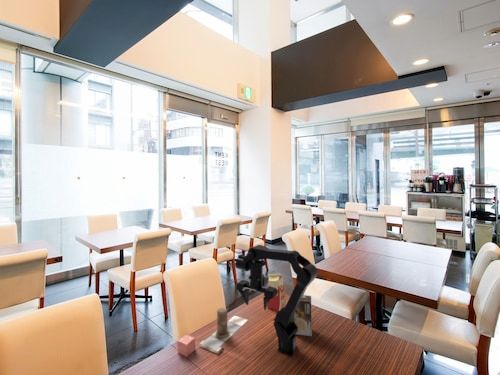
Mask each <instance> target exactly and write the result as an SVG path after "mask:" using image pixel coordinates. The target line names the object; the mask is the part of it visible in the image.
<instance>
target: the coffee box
mask: <svg viewBox="0 0 500 375" xmlns="http://www.w3.org/2000/svg"><path fill="white" fill-rule="evenodd" d="M294 322H295V324H296V325H297V327H298V331H297V332H296V333H295V335H297V336H298V335H299V336H305V337H306V336H307V337H312V334H313V332H312V331H313V330H312V329H313V328H312V296H311V295H303V297H302V299H301V301H300V303H299V305H298V307H297V309H296V311H295V313H294Z"/></svg>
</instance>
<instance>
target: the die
mask: <svg viewBox="0 0 500 375" xmlns="http://www.w3.org/2000/svg"><path fill="white" fill-rule="evenodd" d="M195 350H196V337H193V336H192V335H189V334H185V335H184V336H182V337H181V338H180V339H179V340H177V354H179V355H183V356H184V357H186V358H187V357H188V356H189V355H191V354H192V353H193V352H194V351H195Z"/></svg>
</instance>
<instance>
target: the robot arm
mask: <svg viewBox="0 0 500 375" xmlns="http://www.w3.org/2000/svg"><path fill="white" fill-rule="evenodd" d="M265 260H272V261H273V260H274V261H281V262H288V263H289V264H290V266H291V268H292V270H293V272H294V274H295V275H296V278H295V282H296V283H295V286H294V288H293V290H292V292H291V294H290V296H289V298H288V301H287V304H286V306H285V308H284V307H283V308H282V309H281V310H280V311H279V312H278V311H276V313H275V317H274V319H273V320H272V321H273V326H274V329H275V333H276V336H277V344H278V345H277V346H278V348H277V352H279V353H282V354H285V355H288V356H291V357H292V356H293V355H294V354H295V352H296V350H297V348H298V345H296V344H297V340H296V339H297V334H295V333H296V332H297V331H298V327H297V325H296V324H295V322H294V313H295V311H296V309H297V307H298V305H299V303H300V301H301V299H302V297H303V295H304V294H305V293H306V291H307V288H308V287H309V286H310V285H311V284H312V283H313V281H314V280H315V279H316V278H317V277H318V274H319V270H318V268H317V267H316V266H315V265H314V264H312V262H311V261H310V260H309V259H308V258H306V257H304V256H302V254H300V253H299V251H297V250H286V249H275V248H270V247H269V248H268V247H267V246H265V245H262V244H257V245H253V246H252V247H249V249H248V251H247V253H246V255H244V254H238V255H237V258H236V260H235V263H234V265H235V268H236V269H238V270H241V271H244V272H248V271H249V276H248V280H249V281H248V280H244V279H241V280H240V281H239V282H237V283H236V284H235V290H236V291H237V292H238V293H240V294H241V296H242V299H243V300H244V302H245V304H246V305H247V306H248V305H249V301H250V299H249V296H250V295H249V291H250V290H251V291H255V292H259V293H263V298H262V299H263V310H264V311H266V310H267V309H268V308H267V305H268V303H269V300H270V299H273V298H274V297H275V296H276V295H277V289H276V288H274V287H270V286H269V287H267V288H265V286H266V285H269V276H268V277H267V276H265V274H263V272H264V270H263V268H264V266H267V264H268V263H267V262H266V261H265Z"/></svg>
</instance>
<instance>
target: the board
mask: <svg viewBox="0 0 500 375" xmlns="http://www.w3.org/2000/svg"><path fill="white" fill-rule="evenodd" d="M247 322H248V319H247V318H243V317H241V316H237V315H233V316H232V317H231V318H230V319H229V320H227V330H228V331H229V336H228V337H227V338H224V339H219V338H217V337H216V331H214V332H213V333H212V334H211V335H210V336H209V337H208V338H206V339H203V340H202V341H200V342H199V345H198V346H199V347H200V348H202V349H205V350H207V351H208V352H209V351H210V352H212V353H214V354H217V355H219V354H220V353H221V352H222V351H223V350H224V349H225V347H222V345H223V344H225V342H226V341H227V340H229V339H230V338H231V336H233V335H234V334H235V333H237V331H238V330H239V329H240V328H241V327H242V326H243V325H244V324H246V323H247Z"/></svg>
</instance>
